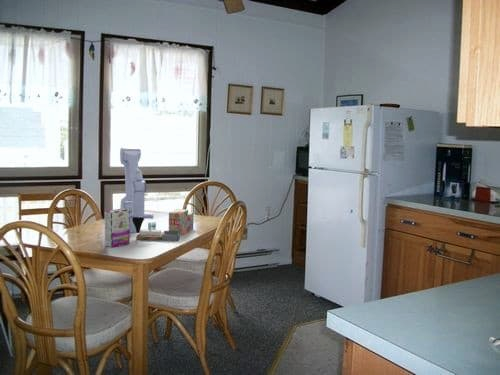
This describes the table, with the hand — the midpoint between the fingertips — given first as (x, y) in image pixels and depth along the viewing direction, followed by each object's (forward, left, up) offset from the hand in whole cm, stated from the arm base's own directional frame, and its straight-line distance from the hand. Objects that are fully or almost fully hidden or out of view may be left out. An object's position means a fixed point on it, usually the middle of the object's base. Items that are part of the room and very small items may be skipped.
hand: (138, 232), depth 235 cm
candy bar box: (-7, -15, -3) cm, 17 cm away
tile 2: (+9, 0, -1) cm, 9 cm away
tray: (+16, 0, -3) cm, 16 cm away
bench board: (+6, 0, -3) cm, 7 cm away
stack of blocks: (+20, +17, -3) cm, 26 cm away
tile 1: (+3, 0, -1) cm, 3 cm away
